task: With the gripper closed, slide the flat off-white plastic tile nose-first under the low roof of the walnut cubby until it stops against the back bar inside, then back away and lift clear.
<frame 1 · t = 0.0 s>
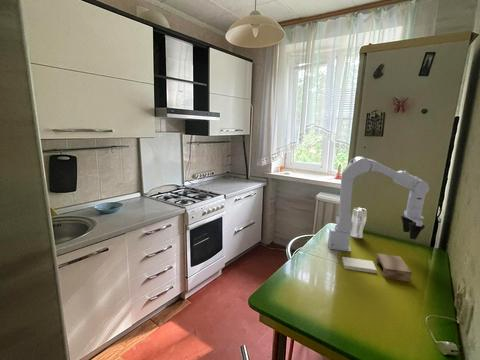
hand: (409, 235, 113), 10 cm above the table, tool pointing down, fingers open, 7 cm apart
tile: (358, 267, 105), on the table
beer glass: (356, 236, 134), on the table
cubby: (391, 271, 102), on the table
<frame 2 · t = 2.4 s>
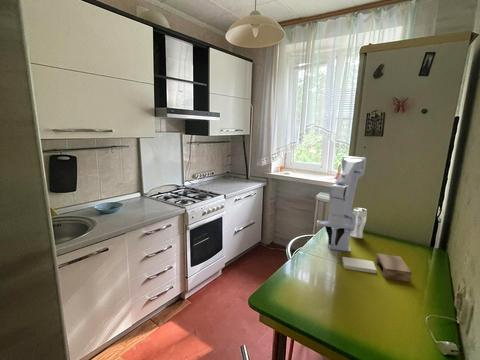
hand: (332, 244, 106), 8 cm above the table, tool pointing down, fingers closed
nothing on the table moved.
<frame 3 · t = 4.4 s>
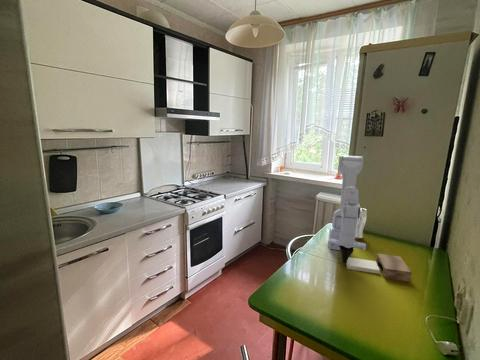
hand: (344, 262, 106), 1 cm above the table, tool pointing down, fingers closed
tile: (361, 267, 105), on the table, touching gripper
everything else where it was.
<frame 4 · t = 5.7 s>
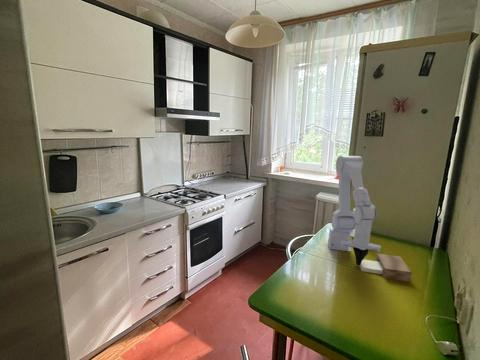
hand: (357, 264, 105), 1 cm above the table, tool pointing down, fingers closed
tile: (375, 269, 104), on the table, touching gripper
everything else where it was.
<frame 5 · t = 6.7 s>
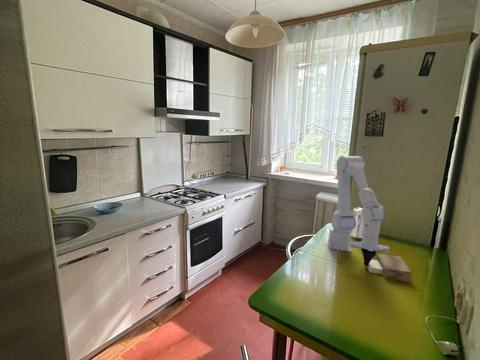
hand: (365, 265, 104), 1 cm above the table, tool pointing down, fingers closed
tile: (383, 269, 103), on the table, touching cubby, gripper
everything else where it was.
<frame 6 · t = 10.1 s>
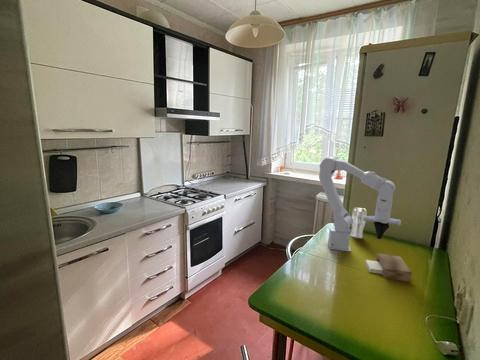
hand: (378, 238, 110), 9 cm above the table, tool pointing down, fingers closed
tile: (382, 270, 103), on the table
everything else where it was.
at the end: tile 0.5 cm from the target spot, on the table; tile tilted 0° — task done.
